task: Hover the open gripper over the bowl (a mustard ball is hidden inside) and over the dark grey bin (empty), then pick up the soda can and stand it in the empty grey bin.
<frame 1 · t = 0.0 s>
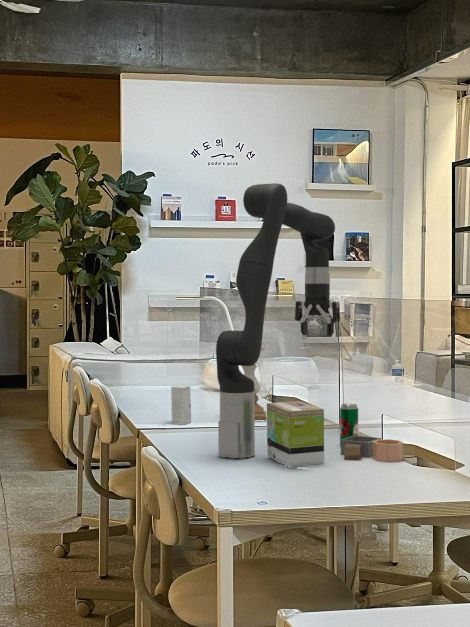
hand: (317, 335, 291), 29 cm above the table, fingers open, 8 cm apart
skincare box: (181, 424, 309), on the table
bin: (361, 455, 254), on the table
candle holder: (249, 419, 318), on the table
tea box: (295, 462, 246), on the table
ball: (387, 458, 246), point 1 cm above the table, touching bowl
bowl: (387, 461, 246), on the table
soda can: (349, 448, 265), on the table
walnut block: (352, 461, 247), on the table
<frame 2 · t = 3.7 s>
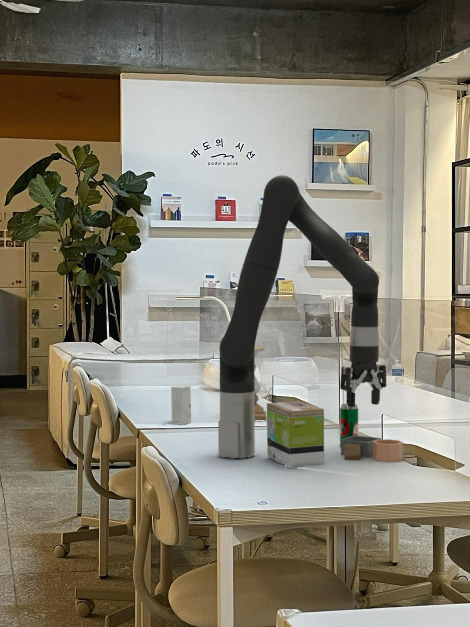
hand: (363, 405, 252), 14 cm above the table, fingers open, 8 cm apart
nothing on the table moved.
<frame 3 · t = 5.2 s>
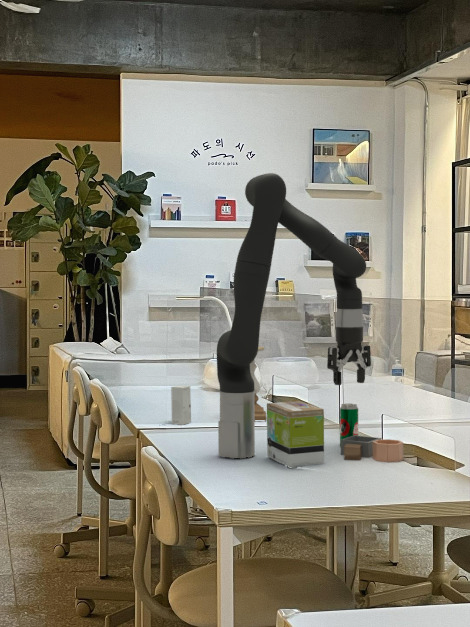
hand: (349, 383, 265), 18 cm above the table, fingers open, 8 cm apart
nothing on the table moved.
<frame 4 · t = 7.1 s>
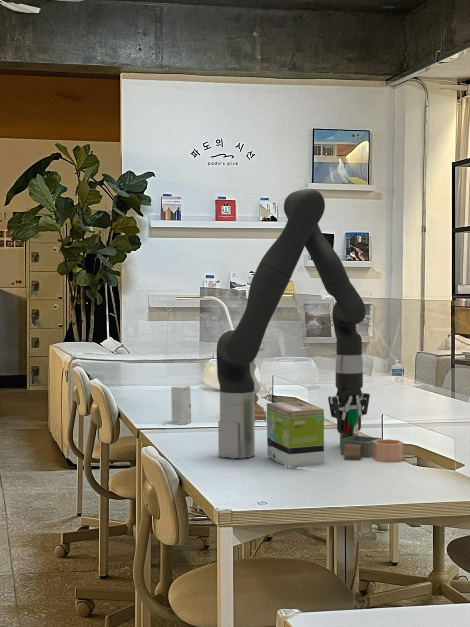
hand: (349, 431, 265), 4 cm above the table, fingers closed on soda can, 5 cm apart
soda can: (349, 448, 265), on the table, touching gripper
everything else where it was.
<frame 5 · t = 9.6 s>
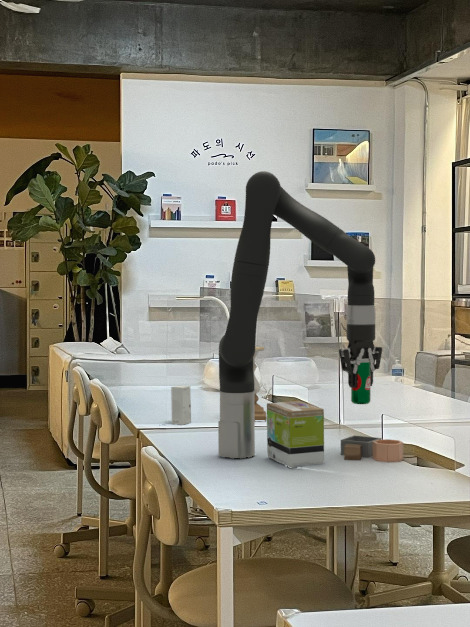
hand: (360, 386, 253), 18 cm above the table, fingers closed on soda can, 5 cm apart
soda can: (360, 404, 253), point 14 cm above the table, touching gripper
everything else where it was.
when the fingers open (6 cm above the table, at t = 12.1 s): soda can drops 1 cm, resting on bin.
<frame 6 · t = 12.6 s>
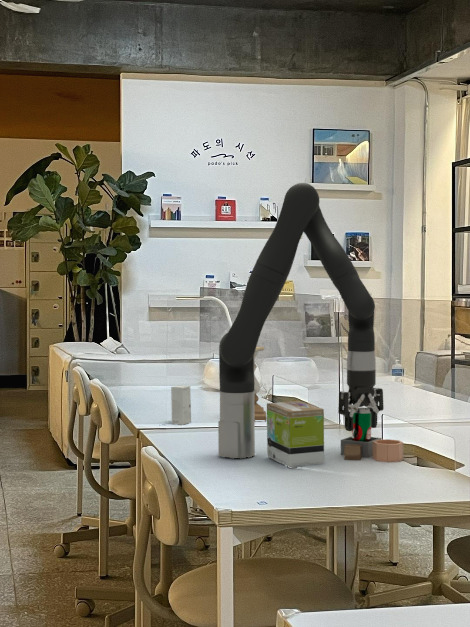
hand: (361, 429, 253), 7 cm above the table, fingers open, 8 cm apart
soda can: (361, 454, 254), resting on bin
everything else where it was.
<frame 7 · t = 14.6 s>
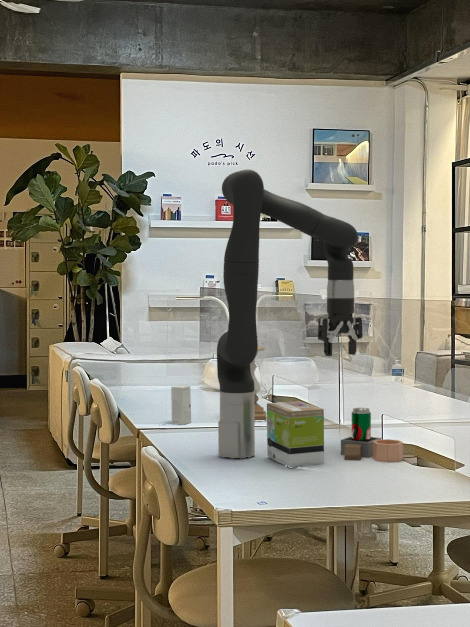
hand: (340, 355, 264), 26 cm above the table, fingers open, 8 cm apart
nothing on the table moved.
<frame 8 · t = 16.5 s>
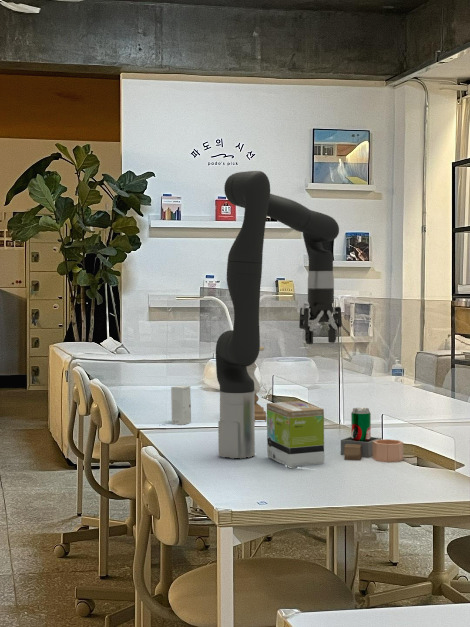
hand: (320, 343, 276), 28 cm above the table, fingers open, 8 cm apart
nothing on the table moved.
at the end: soda can 0.0 cm from the bin (horizontally); soda can touching bin; soda can tilted 0° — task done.
